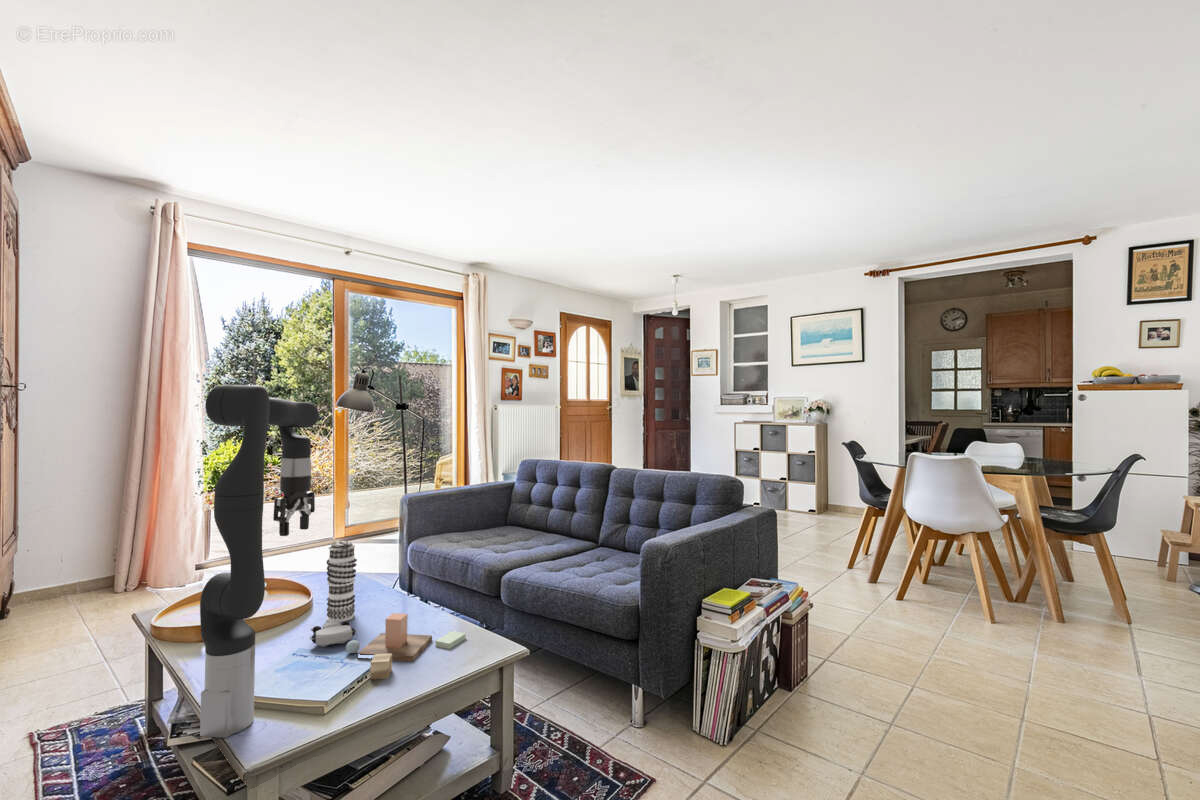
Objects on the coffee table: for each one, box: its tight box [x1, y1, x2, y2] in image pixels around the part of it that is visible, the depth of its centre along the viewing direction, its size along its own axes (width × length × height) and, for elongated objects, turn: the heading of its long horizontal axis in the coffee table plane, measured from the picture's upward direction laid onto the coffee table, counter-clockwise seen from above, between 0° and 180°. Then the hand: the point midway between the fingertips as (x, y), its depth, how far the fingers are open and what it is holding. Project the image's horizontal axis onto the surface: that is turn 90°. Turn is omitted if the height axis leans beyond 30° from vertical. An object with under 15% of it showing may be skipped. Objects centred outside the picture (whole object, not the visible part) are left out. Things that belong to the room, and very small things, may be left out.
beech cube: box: [369, 654, 393, 680], centre depth 146 cm, size 4×4×4 cm
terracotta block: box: [384, 612, 408, 648], centre depth 162 cm, size 4×4×8 cm
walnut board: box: [356, 632, 433, 662], centre depth 161 cm, size 14×16×2 cm
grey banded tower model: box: [326, 540, 358, 623], centre depth 185 cm, size 9×9×25 cm
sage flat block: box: [435, 630, 467, 650], centre depth 167 cm, size 8×5×2 cm, turn 159°
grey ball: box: [345, 639, 361, 654], centre depth 158 cm, size 4×4×4 cm
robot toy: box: [310, 620, 358, 648], centre depth 167 cm, size 12×4×15 cm
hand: (294, 532), depth 154 cm, fingers open, 8 cm apart
